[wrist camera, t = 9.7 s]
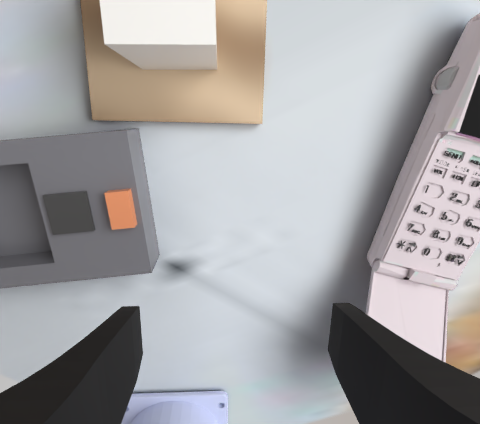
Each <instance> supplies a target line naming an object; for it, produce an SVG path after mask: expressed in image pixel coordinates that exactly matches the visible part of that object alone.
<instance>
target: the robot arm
mask: <svg viewBox="0 0 480 424" xmlns="http://www.w3.org/2000/svg"><path fill="white" fill-rule="evenodd" d="M328 351H329V354H330V358H331V361H332V364H333V367H334V370H335V373H336V375H337V378H338V380H339V382H340V384H341V386H342V388H343V390H344V393H345V395H346V397H347V399H348V401H349V403H350V405H351V407H352V409H353V411H354V413H355V415H356V417H357V420H358V422H359V424H480V379H479V378H477V377H475V376H472V375H470V374H468V373H466V372H464V371H461V370H459V369H457V368H455V367H453V366H451V365H449V364H447V363H445V362H443V361H441V360H439V359H438V358H436V357H434V356H432V355H430V354H428V353H426V352H425V351H423V350H421V349H420V348H418V347H416V346H415V345H413V344H411V343H409V342H408V341H406V340H405V339H403V338H401V337H400V336H398V335H397V334H395V333H394V332H392V331H391V330H389V329H388V328H386V327H385V326H383V325H382V324H380V323H379V322H377V321H376V320H374V319H373V318H371V317H370V316H368V315H367V314H365V313H364V312H362V311H361V310H359V309H358V308H356V307H355V306H353V305H351V304H350V303H333V309H332V318H331V327H330V336H329V344H328ZM142 355H143V350H142V336H141V322H140V309H139V306H128V307H121V308H120V309H119V310H117V311H116V312H115V313H114V314H113V315H111V316H110V317H109V318H108V319H107V320H106V321H104V322H103V323H102V324H101V325H100V326H98V327H97V328H96V329H95V330H94V331H92V332H91V333H90V334H89V335H88V336H86V337H85V338H84V339H83V340H81V341H80V342H79V343H77V344H76V345H75V346H73V347H72V348H71V349H69V350H68V351H67V352H65V353H64V354H63V355H61V356H60V357H59V358H57V359H56V360H54V361H53V362H51V363H50V364H48V365H47V366H45V367H44V368H42V369H41V370H39V371H38V372H36V373H34V374H33V375H31V376H30V377H28V378H26V379H25V380H23V381H21V382H20V383H18V384H16V385H14V386H12V387H11V388H9V389H7V390H5V391H3V392H2V393H0V424H228V394H227V393H226V392H224V391H202V392H171V393H140V394H132V393H133V390H134V387H135V384H136V381H137V377H138V373H139V369H140V364H141V360H142ZM219 403H223V404H219Z"/></svg>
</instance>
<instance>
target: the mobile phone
mask: <svg viewBox="0 0 480 424" xmlns="http://www.w3.org/2000/svg"><path fill="white" fill-rule="evenodd" d="M431 90H432V93H434V94H433V96H432V99H431V101H430V103H429V106H428V108H427V110H426V113H425V115H424V117H423V120H422V122H421V124H420V127H419V129H418V131H417V134H416V136H415V138H414V141H413V143H412V145H411V148H410V150H409V152H408V155H407V157H406V159H405V162H404V164H403V166H402V169H401V171H400V173H399V176H398V178H397V181H396V183H395V186H394V188H393V191H392V193H391V196H390V198H389V201H388V203H387V206H386V208H385V211H384V213H383V216H382V218H381V221H380V223H379V226H378V228H377V231H376V233H375V236H374V238H373V241H372V243H371V246H370V248H369V251H368V254H367V260H368V262H369V264H370V266H371V267H372V272H371V279H370V286H369V293H368V300H367V308H366V314H367V315H368V316H370V317H371V318H373V319H374V320H376V321H377V322H379V323H380V324H382V325H383V326H385V327H386V328H388V329H389V330H391V331H392V332H394V333H395V334H397V335H398V336H400V337H401V338H403V339H405V340H406V341H408V342H409V343H411V344H413V345H415V346H416V347H418V348H420V349H421V350H423V351H425V352H426V353H428V354H430V355H432V356H434V357H436V358H438V359H439V360H441V361H443V362H445V363H446V342H447V317H448V292H449V290H454V289H455V288H456V286H457V285H458V284H457V280H458V279H459V277H460V275H461V273H462V272H463V270H464V268H465V266H466V264H467V263H468V261H469V259H470V257H471V256H472V254H473V252H474V250H475V249H476V247H477V245H478V243H479V242H480V13H479V14H477V15H476V16H475V17H473V18H472V19H471V20H470V21H469V22H468V23H467V25H466V27H465V29H464V31H463V33H462V35H461V37H460V39H459V41H458V43H457V45H456V47H455V49H454V51H453V53H452V55H451V57H450V59H449V61H448V63H447V65H446V66H445V67H443V68H442V69H440V70H439V71H438V72H437V74H436V75H435V77H434V79H433V81H432V85H431ZM445 299H446V302H445Z"/></svg>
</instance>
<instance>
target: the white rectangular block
mask: <svg viewBox="0 0 480 424" xmlns="http://www.w3.org/2000/svg"><path fill="white" fill-rule="evenodd" d="M100 9H101V18H102V27H103V36H104V44H105V45H106V46H108V47H109V48H111V49H113V50H114V51H116V52H117V53H119V54H120V55H122V56H123V57H125V58H126V59H128V60H129V61H131V62H132V63H134V64H135V65H137V66H138V67H140V68H141V69H143V70H217V41H216V2H215V0H100Z"/></svg>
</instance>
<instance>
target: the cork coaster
mask: <svg viewBox="0 0 480 424" xmlns="http://www.w3.org/2000/svg"><path fill="white" fill-rule="evenodd" d="M80 2H81V12H82V22H83V32H84V42H85V52H86V62H87V72H88V81H89V91H90V101H91V111H92V120H110V121H157V122H203V123H250V124H262V115H263V89H264V64H265V38H266V12H267V0H215V2H216V41H217V70H143V69H141V68H140V67H138V66H137V65H135V64H134V63H132V62H131V61H129V60H128V59H126V58H125V57H123V56H122V55H120V54H119V53H117V52H116V51H114V50H113V49H111V48H109V47H108V46H106V45H105V44H104V36H103V27H102V18H101V9H100V0H80Z"/></svg>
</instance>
